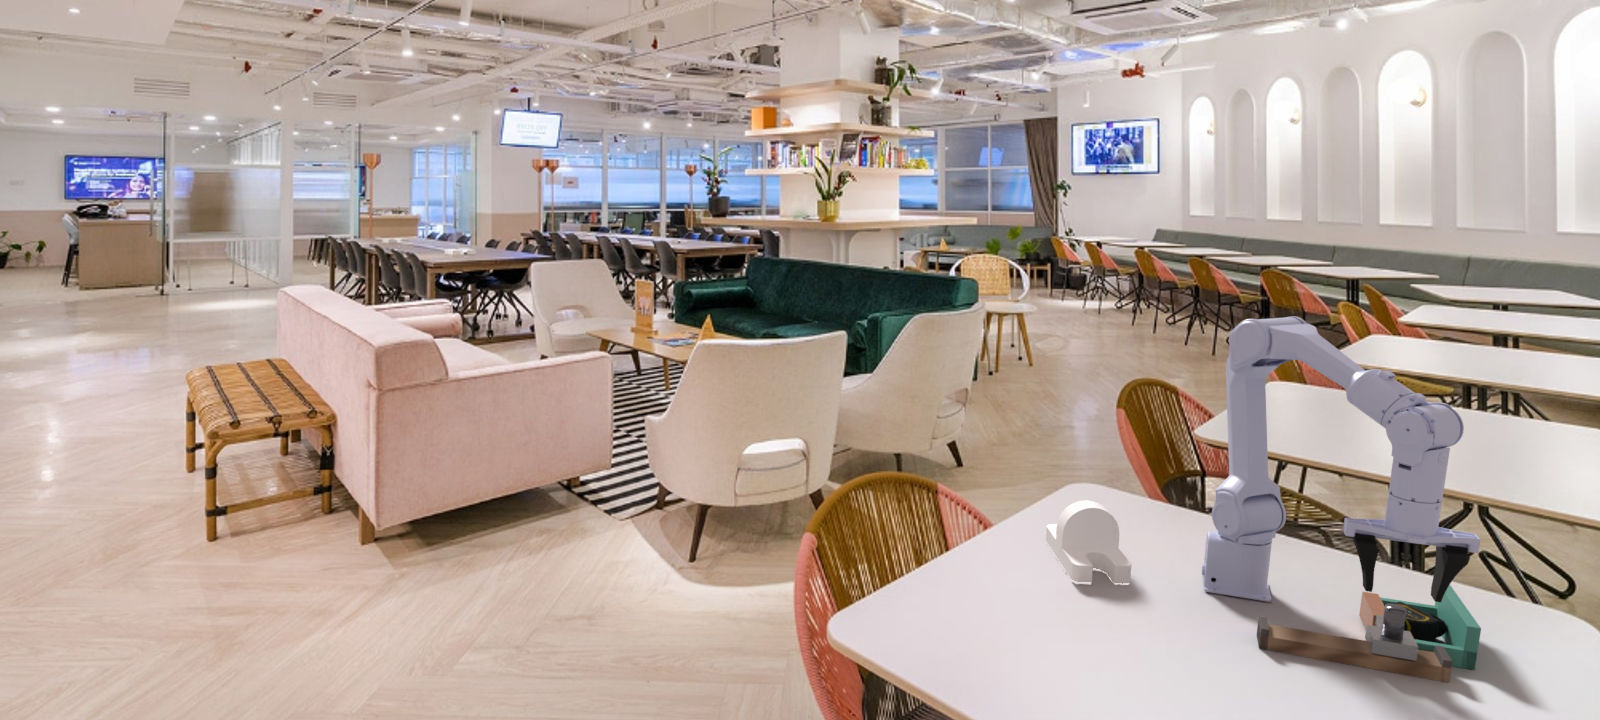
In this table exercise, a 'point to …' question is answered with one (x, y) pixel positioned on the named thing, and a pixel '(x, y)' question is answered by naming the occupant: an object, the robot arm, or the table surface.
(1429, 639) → the tape measure
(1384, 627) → the rod slider
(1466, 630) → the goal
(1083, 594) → the table surface
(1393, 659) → the rail
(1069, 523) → the white slotted holder
